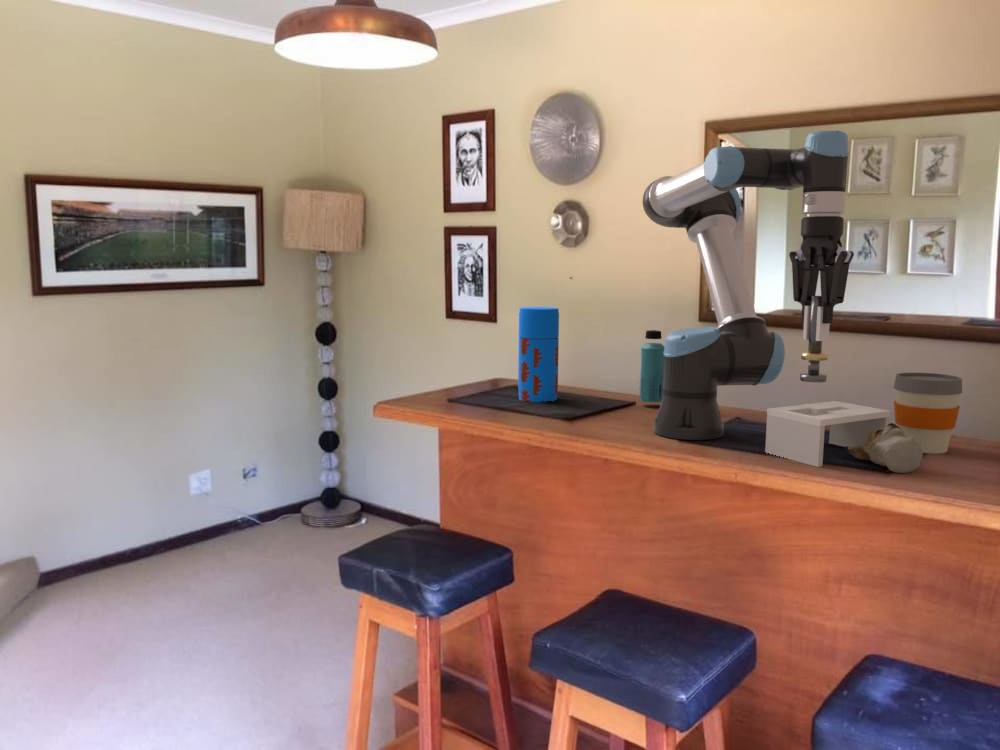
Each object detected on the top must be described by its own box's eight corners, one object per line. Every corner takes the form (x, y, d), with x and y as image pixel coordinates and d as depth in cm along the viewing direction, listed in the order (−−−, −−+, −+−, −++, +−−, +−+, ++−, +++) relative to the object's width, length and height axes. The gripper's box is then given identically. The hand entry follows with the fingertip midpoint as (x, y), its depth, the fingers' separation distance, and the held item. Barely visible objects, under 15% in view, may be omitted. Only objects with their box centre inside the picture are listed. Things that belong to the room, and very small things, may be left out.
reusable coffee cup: (882, 440, 179) (887, 371, 177) (944, 443, 177) (950, 373, 175) (899, 454, 167) (904, 380, 165) (967, 457, 165) (973, 382, 163)
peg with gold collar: (794, 379, 163) (799, 295, 161) (811, 378, 165) (816, 295, 163) (814, 383, 159) (819, 296, 156) (831, 381, 161) (836, 296, 159)
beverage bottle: (660, 409, 215) (663, 331, 212) (635, 406, 218) (638, 330, 215) (667, 405, 221) (669, 329, 218) (642, 403, 224) (645, 328, 221)
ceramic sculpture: (885, 428, 148) (843, 417, 163) (883, 476, 149) (841, 461, 164) (941, 428, 149) (894, 417, 164) (939, 476, 150) (892, 461, 165)
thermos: (541, 394, 237) (543, 306, 233) (565, 400, 228) (567, 308, 225) (510, 398, 231) (511, 307, 227) (533, 403, 222) (534, 309, 218)
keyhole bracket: (817, 467, 156) (820, 419, 155) (765, 452, 167) (767, 408, 166) (887, 455, 166) (890, 410, 165) (832, 442, 177) (835, 400, 176)
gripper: (777, 217, 163) (771, 337, 166) (843, 213, 149) (835, 344, 152) (803, 218, 166) (797, 335, 169) (871, 214, 153) (863, 342, 156)
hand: (815, 339), depth 161 cm, fingers closed on peg with gold collar, 2 cm apart
